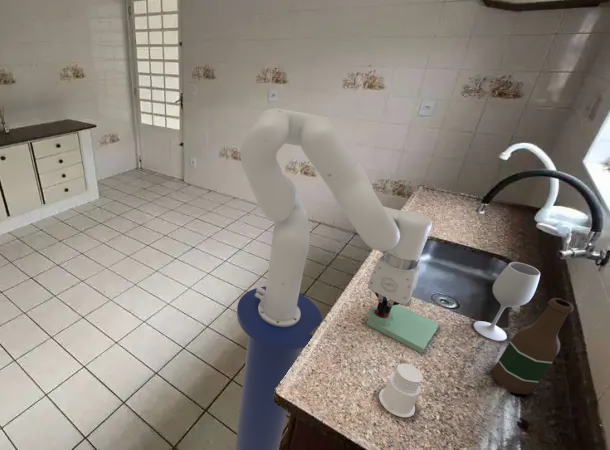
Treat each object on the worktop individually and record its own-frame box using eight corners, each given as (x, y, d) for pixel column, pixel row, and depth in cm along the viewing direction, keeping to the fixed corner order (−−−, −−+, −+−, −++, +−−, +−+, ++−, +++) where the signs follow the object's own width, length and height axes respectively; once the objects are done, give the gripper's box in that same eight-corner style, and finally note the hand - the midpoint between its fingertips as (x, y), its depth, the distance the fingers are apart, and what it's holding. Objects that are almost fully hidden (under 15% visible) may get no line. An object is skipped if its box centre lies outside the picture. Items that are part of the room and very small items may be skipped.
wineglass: (487, 342, 93) (523, 278, 83) (466, 321, 99) (496, 260, 90) (514, 341, 93) (554, 277, 83) (491, 320, 100) (525, 259, 90)
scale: (362, 322, 99) (365, 313, 98) (381, 301, 107) (384, 292, 105) (421, 353, 90) (425, 343, 88) (437, 328, 97) (441, 319, 96)
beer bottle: (536, 402, 78) (596, 321, 66) (492, 386, 81) (542, 306, 70) (528, 376, 83) (582, 298, 72) (488, 362, 87) (533, 286, 76)
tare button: (372, 317, 98) (373, 312, 98) (376, 312, 100) (378, 307, 99) (383, 323, 96) (384, 318, 96) (387, 318, 98) (389, 313, 97)
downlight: (403, 426, 73) (418, 395, 68) (371, 401, 78) (383, 370, 73) (421, 405, 77) (436, 374, 72) (389, 382, 82) (401, 352, 77)
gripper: (364, 252, 91) (349, 306, 100) (429, 277, 82) (406, 334, 90) (376, 242, 96) (361, 294, 105) (439, 265, 86) (416, 320, 95)
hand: (382, 313), depth 97 cm, fingers closed
